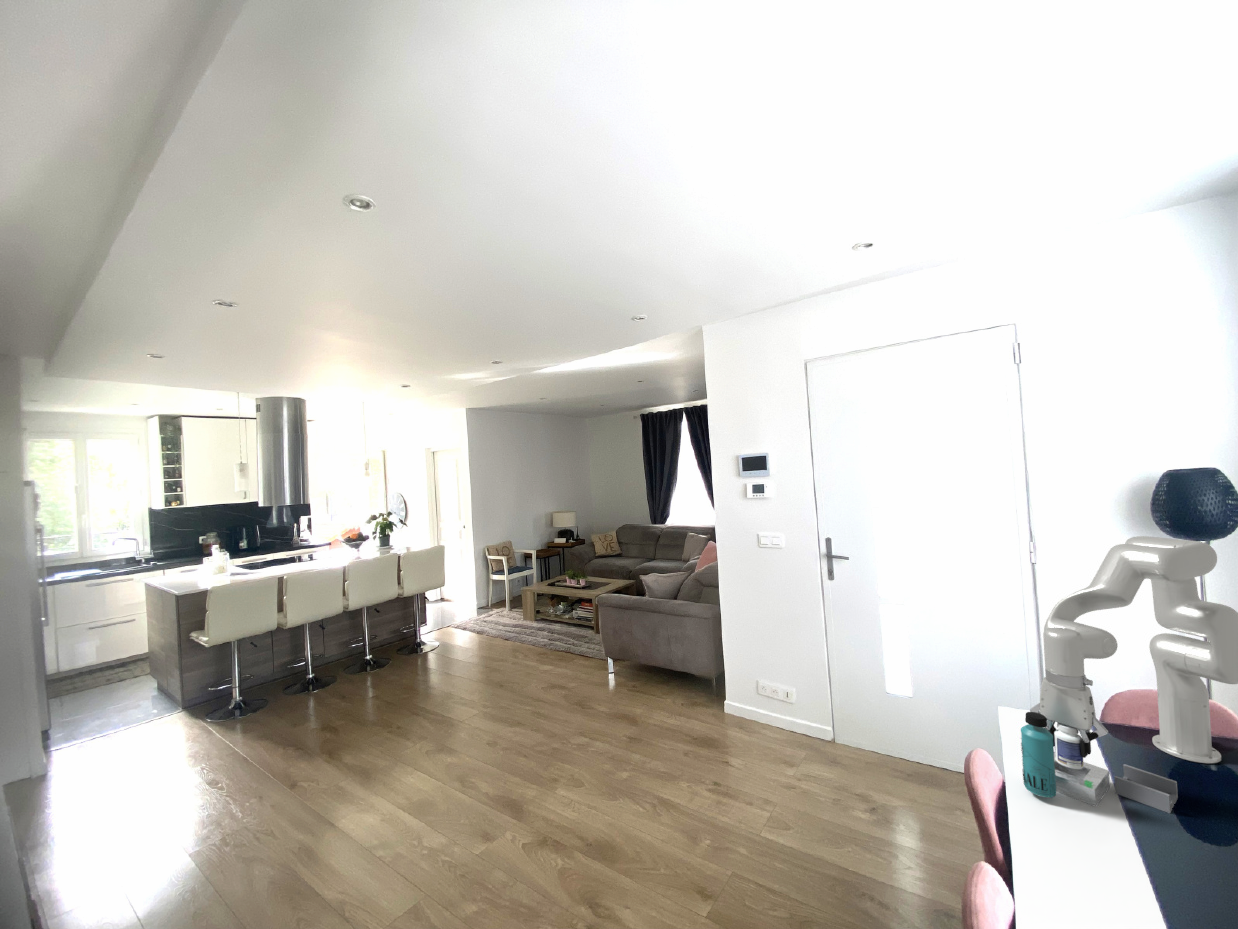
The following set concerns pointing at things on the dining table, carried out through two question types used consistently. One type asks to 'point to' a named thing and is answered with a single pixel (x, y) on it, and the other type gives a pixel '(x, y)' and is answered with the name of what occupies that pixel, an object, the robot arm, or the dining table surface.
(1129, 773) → the grey open frame
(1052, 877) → the dining table surface
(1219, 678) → the robot arm
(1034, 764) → the beverage bottle
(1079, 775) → the port
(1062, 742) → the pill bottle
